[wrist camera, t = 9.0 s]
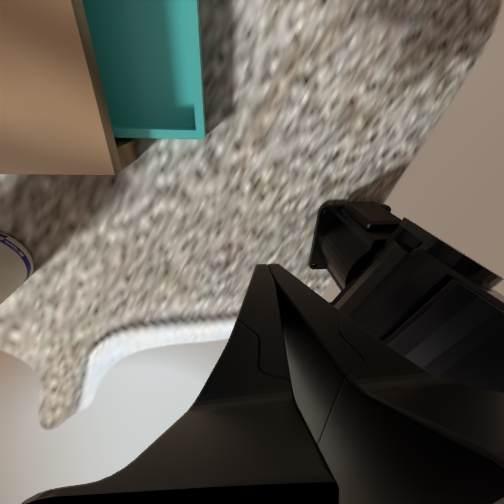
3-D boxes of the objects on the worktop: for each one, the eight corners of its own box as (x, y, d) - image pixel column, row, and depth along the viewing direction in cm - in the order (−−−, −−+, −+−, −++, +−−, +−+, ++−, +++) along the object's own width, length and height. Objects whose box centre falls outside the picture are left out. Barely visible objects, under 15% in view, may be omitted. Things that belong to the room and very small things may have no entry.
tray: (206, 135, 17) (204, 139, 15) (18, 130, 16) (-10, 134, 14) (195, -57, 13) (191, -87, 11) (-71, -88, 11) (-134, -130, 9)
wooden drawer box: (137, 158, 18) (114, 174, 14) (-3, 156, 17) (-70, 173, 13) (81, -127, 11) (8, -249, 7) (-154, -161, 10) (-386, -325, 6)
